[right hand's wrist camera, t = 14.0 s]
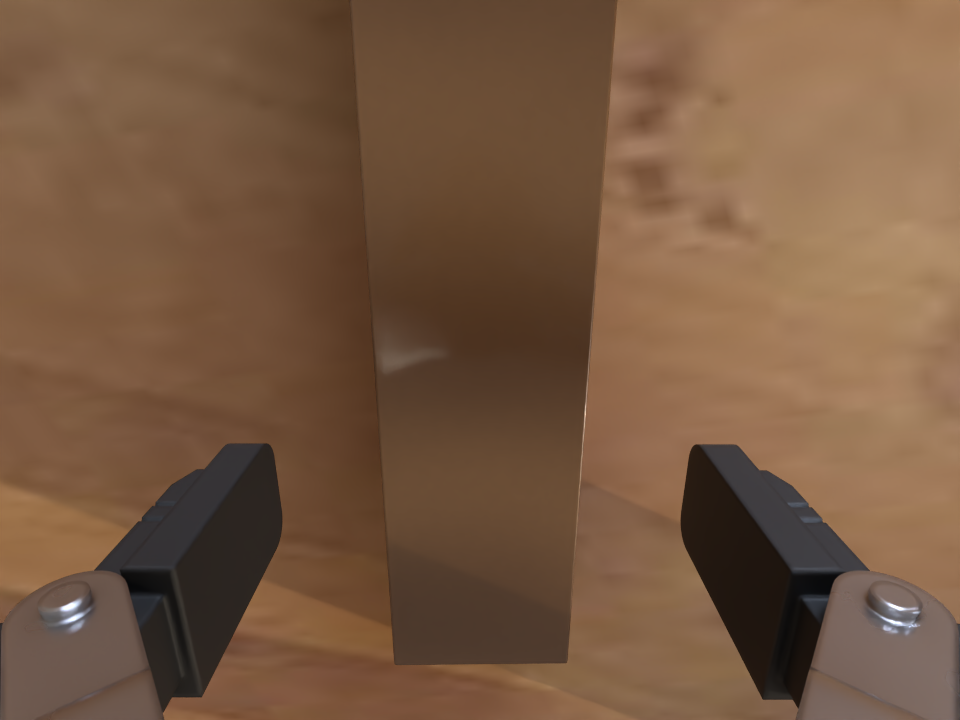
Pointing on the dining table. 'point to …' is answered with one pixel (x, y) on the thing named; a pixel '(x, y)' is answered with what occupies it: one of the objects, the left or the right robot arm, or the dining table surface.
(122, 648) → the right robot arm
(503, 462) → the beam
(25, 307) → the dining table surface
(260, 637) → the dining table surface
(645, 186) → the dining table surface
